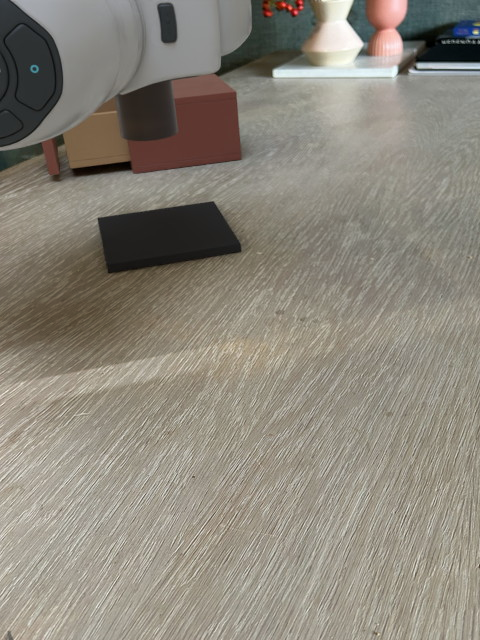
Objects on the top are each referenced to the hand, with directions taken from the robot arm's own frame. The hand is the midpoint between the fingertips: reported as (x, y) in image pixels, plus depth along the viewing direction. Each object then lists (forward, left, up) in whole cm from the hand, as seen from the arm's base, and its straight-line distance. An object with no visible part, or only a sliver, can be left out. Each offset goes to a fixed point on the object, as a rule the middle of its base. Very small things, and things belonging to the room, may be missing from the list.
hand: (134, 2), depth 54 cm
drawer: (-5, +27, -19) cm, 33 cm away
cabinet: (+6, +27, -20) cm, 34 cm away
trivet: (0, -1, -20) cm, 20 cm away
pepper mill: (0, -1, -10) cm, 10 cm away
